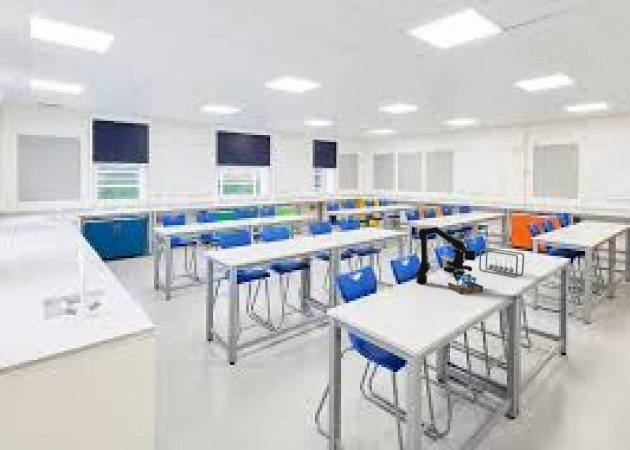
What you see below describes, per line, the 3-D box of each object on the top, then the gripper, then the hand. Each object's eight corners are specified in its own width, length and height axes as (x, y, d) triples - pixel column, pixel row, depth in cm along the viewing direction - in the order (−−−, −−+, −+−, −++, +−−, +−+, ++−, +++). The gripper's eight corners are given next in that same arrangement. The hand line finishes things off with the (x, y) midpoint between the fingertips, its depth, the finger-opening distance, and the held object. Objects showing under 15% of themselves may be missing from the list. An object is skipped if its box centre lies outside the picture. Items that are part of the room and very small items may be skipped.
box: (461, 294, 241) (461, 288, 241) (448, 288, 255) (448, 282, 255) (482, 292, 246) (483, 286, 245) (468, 286, 259) (468, 280, 259)
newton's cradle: (523, 276, 284) (524, 253, 282) (516, 278, 278) (517, 254, 276) (485, 268, 308) (486, 247, 306) (478, 270, 302) (479, 249, 300)
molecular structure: (469, 287, 255) (470, 273, 254) (476, 292, 246) (477, 277, 244) (455, 287, 255) (455, 273, 254) (461, 292, 245) (462, 277, 244)
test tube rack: (457, 276, 285) (457, 259, 283) (451, 276, 285) (452, 259, 283) (445, 269, 310) (445, 253, 308) (439, 269, 310) (440, 253, 308)
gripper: (463, 255, 265) (461, 276, 267) (439, 256, 260) (438, 278, 263) (473, 259, 254) (471, 281, 257) (449, 260, 250) (448, 283, 252)
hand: (457, 281), depth 257 cm, fingers closed
